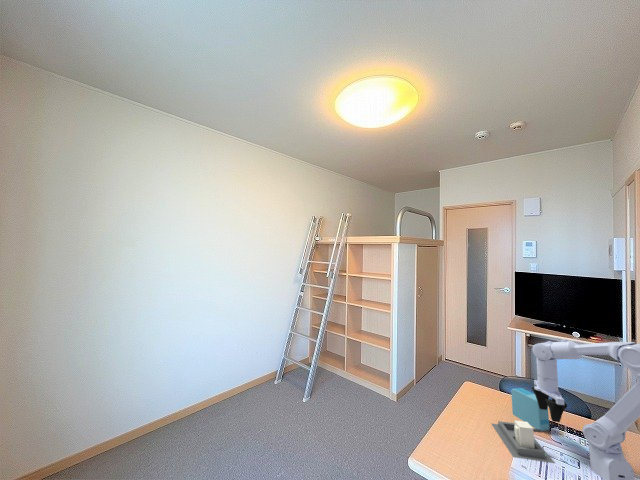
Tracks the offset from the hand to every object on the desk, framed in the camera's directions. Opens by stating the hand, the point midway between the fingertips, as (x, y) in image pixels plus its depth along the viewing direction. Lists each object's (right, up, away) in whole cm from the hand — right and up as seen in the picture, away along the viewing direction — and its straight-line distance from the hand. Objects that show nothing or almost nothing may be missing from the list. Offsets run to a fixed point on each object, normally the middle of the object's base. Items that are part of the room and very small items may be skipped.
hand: (549, 414), depth 96 cm
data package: (+2, -12, +12) cm, 17 cm away
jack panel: (-11, -11, 0) cm, 15 cm away
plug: (-10, -9, -4) cm, 14 cm away
